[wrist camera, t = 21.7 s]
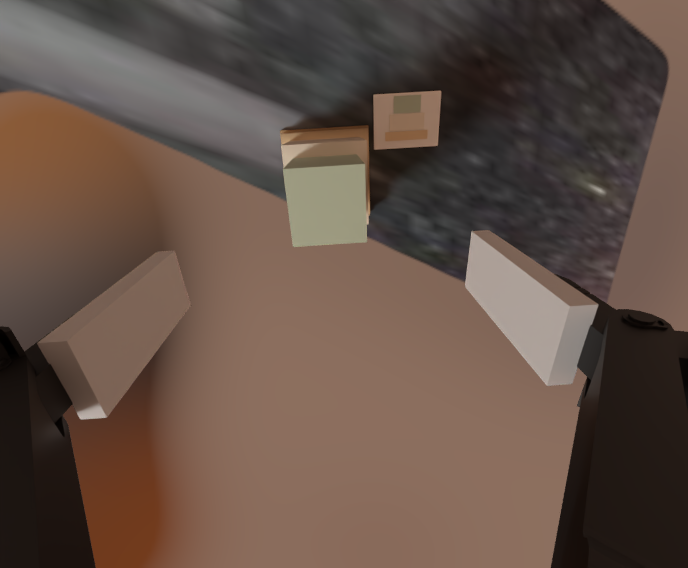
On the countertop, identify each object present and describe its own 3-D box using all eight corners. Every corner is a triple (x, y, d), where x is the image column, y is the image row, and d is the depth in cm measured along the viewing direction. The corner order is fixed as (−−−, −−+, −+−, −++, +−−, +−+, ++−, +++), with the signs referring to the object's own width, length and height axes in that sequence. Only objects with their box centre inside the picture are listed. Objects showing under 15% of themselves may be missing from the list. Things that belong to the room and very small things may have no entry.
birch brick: (290, 140, 38) (281, 145, 31) (359, 136, 38) (366, 140, 31) (298, 210, 41) (291, 228, 34) (361, 206, 41) (368, 224, 34)
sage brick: (293, 158, 31) (282, 169, 24) (356, 154, 31) (365, 163, 24) (300, 220, 34) (293, 247, 27) (358, 216, 34) (367, 242, 27)
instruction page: (373, 94, 39) (373, 94, 38) (440, 90, 39) (441, 90, 39) (373, 149, 41) (374, 149, 41) (437, 145, 41) (438, 145, 41)
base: (280, 130, 40) (277, 131, 37) (367, 125, 40) (370, 125, 37) (291, 216, 45) (289, 222, 42) (369, 211, 45) (372, 217, 42)
